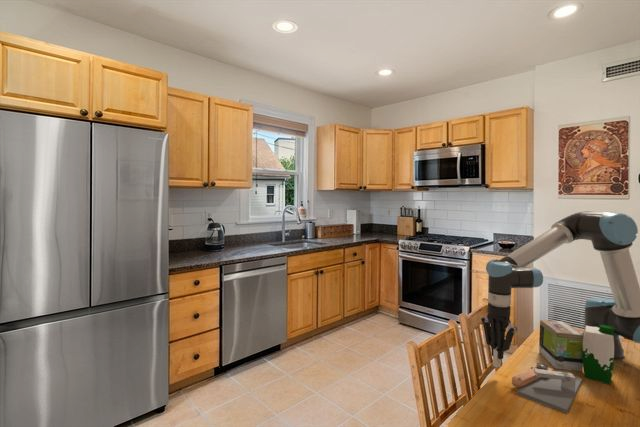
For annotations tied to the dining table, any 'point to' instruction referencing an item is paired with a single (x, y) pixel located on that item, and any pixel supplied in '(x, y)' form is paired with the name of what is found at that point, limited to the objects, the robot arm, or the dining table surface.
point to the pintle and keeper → (557, 377)
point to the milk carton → (598, 353)
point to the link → (526, 377)
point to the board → (550, 393)
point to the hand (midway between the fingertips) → (496, 365)
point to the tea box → (561, 345)
